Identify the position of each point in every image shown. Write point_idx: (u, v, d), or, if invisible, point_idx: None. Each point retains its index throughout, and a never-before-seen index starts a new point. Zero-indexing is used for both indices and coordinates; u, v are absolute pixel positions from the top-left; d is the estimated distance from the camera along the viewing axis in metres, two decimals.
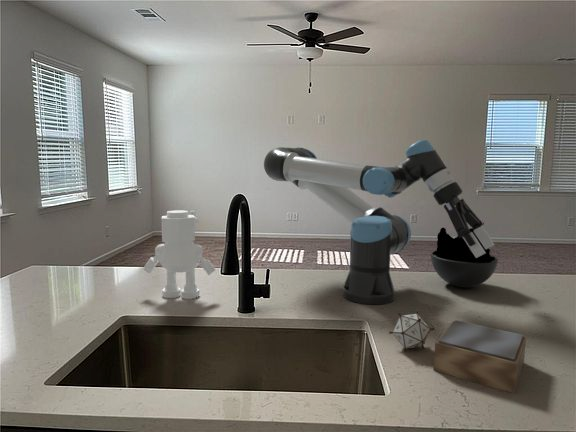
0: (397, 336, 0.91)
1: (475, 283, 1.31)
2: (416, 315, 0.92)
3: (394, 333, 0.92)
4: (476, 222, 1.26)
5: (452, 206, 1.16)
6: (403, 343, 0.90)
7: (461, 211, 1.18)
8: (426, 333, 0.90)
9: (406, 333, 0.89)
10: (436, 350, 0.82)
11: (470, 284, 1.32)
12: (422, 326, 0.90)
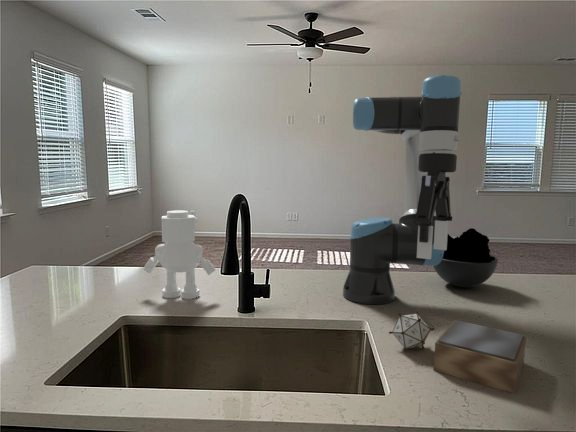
0: (397, 336, 0.91)
1: (475, 283, 1.31)
2: (416, 315, 0.92)
3: (394, 333, 0.92)
4: (445, 214, 0.95)
5: (432, 183, 0.83)
6: (403, 343, 0.90)
7: (438, 194, 0.86)
8: (426, 333, 0.90)
9: (406, 333, 0.89)
10: (436, 350, 0.82)
11: (470, 284, 1.32)
12: (422, 326, 0.90)
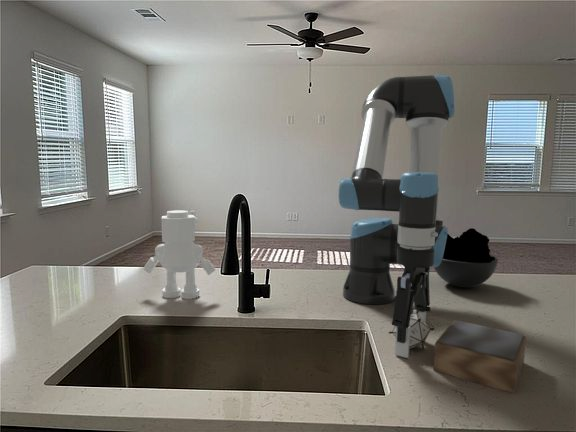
0: None
1: (475, 283, 1.31)
2: (416, 315, 0.92)
3: (394, 333, 0.92)
4: (423, 304, 0.95)
5: (407, 286, 0.84)
6: None
7: (414, 292, 0.87)
8: (426, 333, 0.90)
9: None
10: (436, 350, 0.82)
11: (470, 284, 1.32)
12: (422, 326, 0.89)
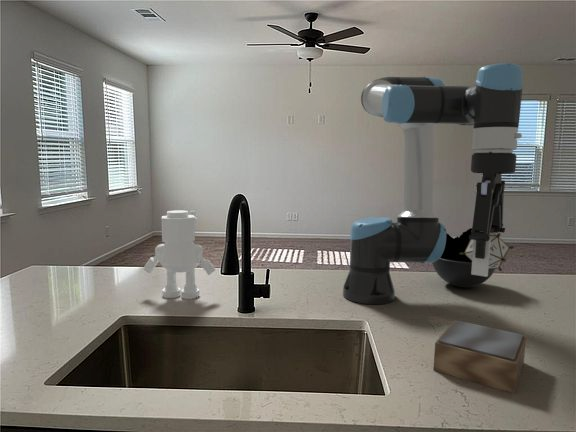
0: (471, 256, 0.81)
1: (475, 283, 1.31)
2: (492, 233, 0.82)
3: (467, 253, 0.81)
4: (497, 223, 0.84)
5: (489, 192, 0.74)
6: None
7: (495, 202, 0.77)
8: (505, 251, 0.79)
9: None
10: (436, 350, 0.82)
11: (470, 284, 1.32)
12: (501, 243, 0.79)
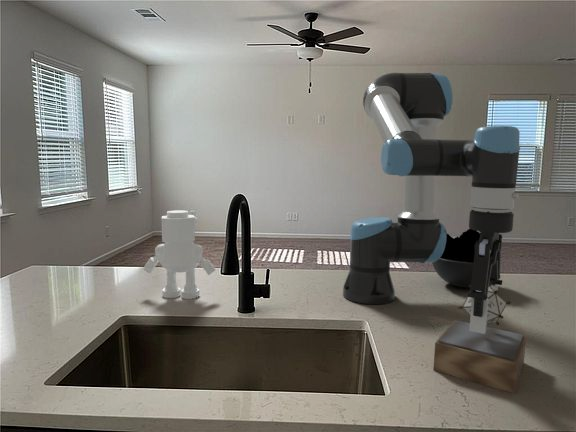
0: (469, 311, 0.82)
1: None
2: (490, 288, 0.83)
3: (465, 308, 0.83)
4: (495, 276, 0.85)
5: (487, 253, 0.75)
6: None
7: (492, 260, 0.78)
8: (503, 307, 0.81)
9: None
10: (436, 350, 0.82)
11: (470, 284, 1.32)
12: (499, 299, 0.80)
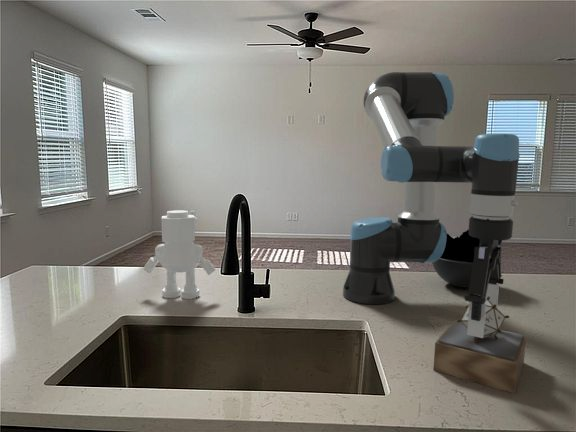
0: (467, 325, 0.82)
1: None
2: (488, 301, 0.83)
3: (464, 321, 0.83)
4: (495, 277, 0.87)
5: (486, 256, 0.75)
6: None
7: (491, 266, 0.78)
8: (501, 321, 0.81)
9: None
10: (436, 350, 0.82)
11: None
12: (497, 313, 0.81)
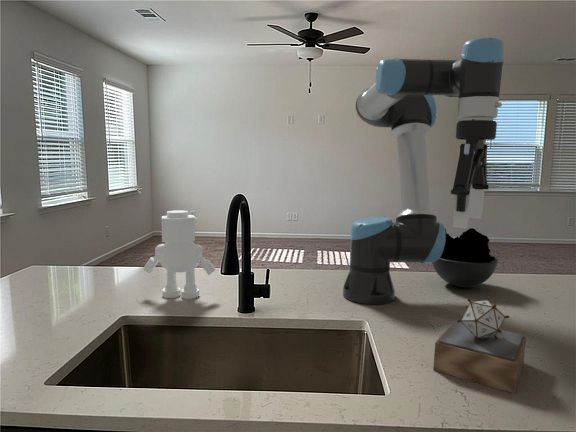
0: (467, 325, 0.82)
1: (475, 283, 1.31)
2: (488, 301, 0.83)
3: (464, 321, 0.83)
4: (481, 182, 0.93)
5: (471, 151, 0.81)
6: (475, 332, 0.81)
7: (476, 163, 0.84)
8: (501, 321, 0.81)
9: (480, 321, 0.80)
10: (436, 350, 0.82)
11: (470, 284, 1.32)
12: (497, 313, 0.81)
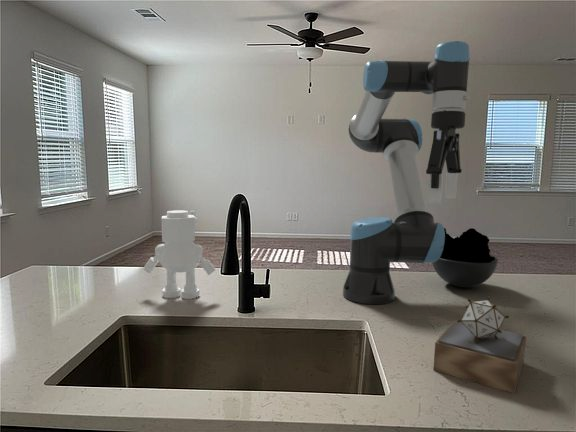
0: (467, 325, 0.82)
1: (475, 283, 1.31)
2: (488, 301, 0.83)
3: (464, 321, 0.83)
4: (454, 166, 1.07)
5: (442, 136, 0.96)
6: (475, 332, 0.81)
7: (447, 147, 0.98)
8: (501, 321, 0.81)
9: (480, 321, 0.80)
10: (436, 350, 0.82)
11: (470, 284, 1.32)
12: (497, 313, 0.81)
